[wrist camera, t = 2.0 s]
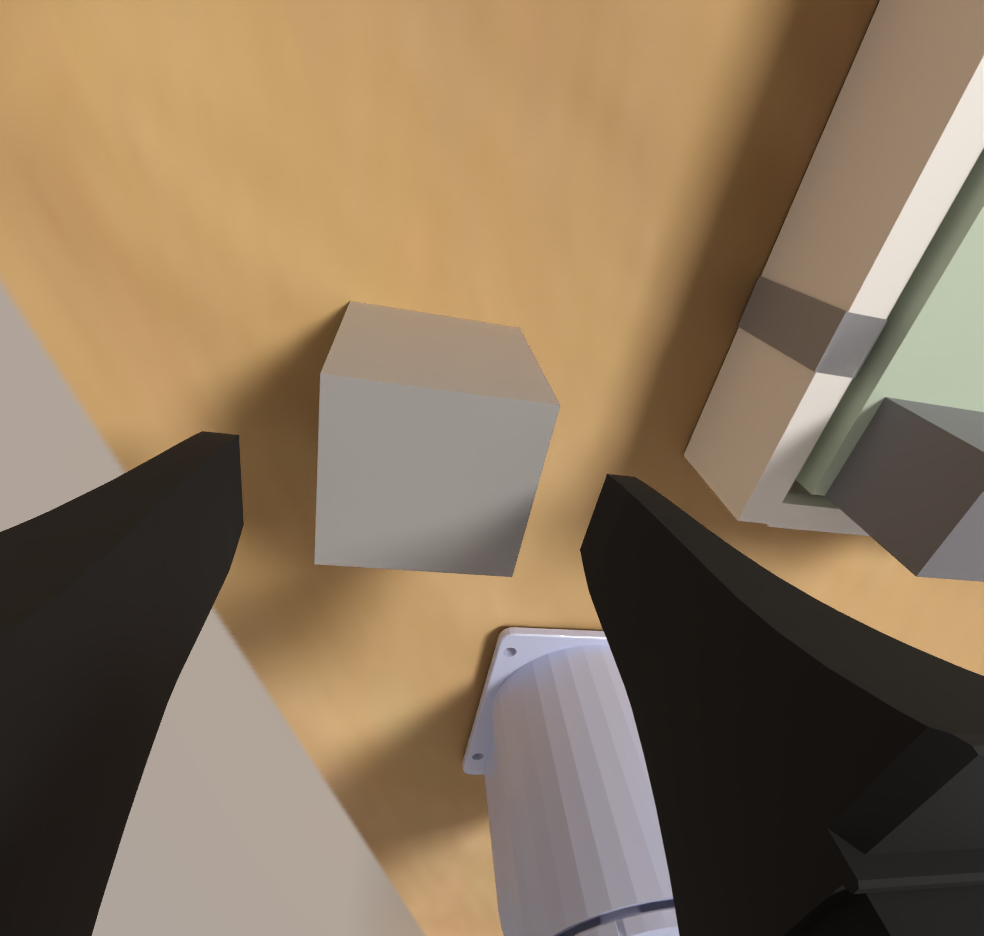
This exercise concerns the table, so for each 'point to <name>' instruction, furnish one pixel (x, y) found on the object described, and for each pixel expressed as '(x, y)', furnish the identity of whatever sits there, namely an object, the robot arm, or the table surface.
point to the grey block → (428, 443)
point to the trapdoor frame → (844, 257)
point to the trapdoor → (920, 411)
